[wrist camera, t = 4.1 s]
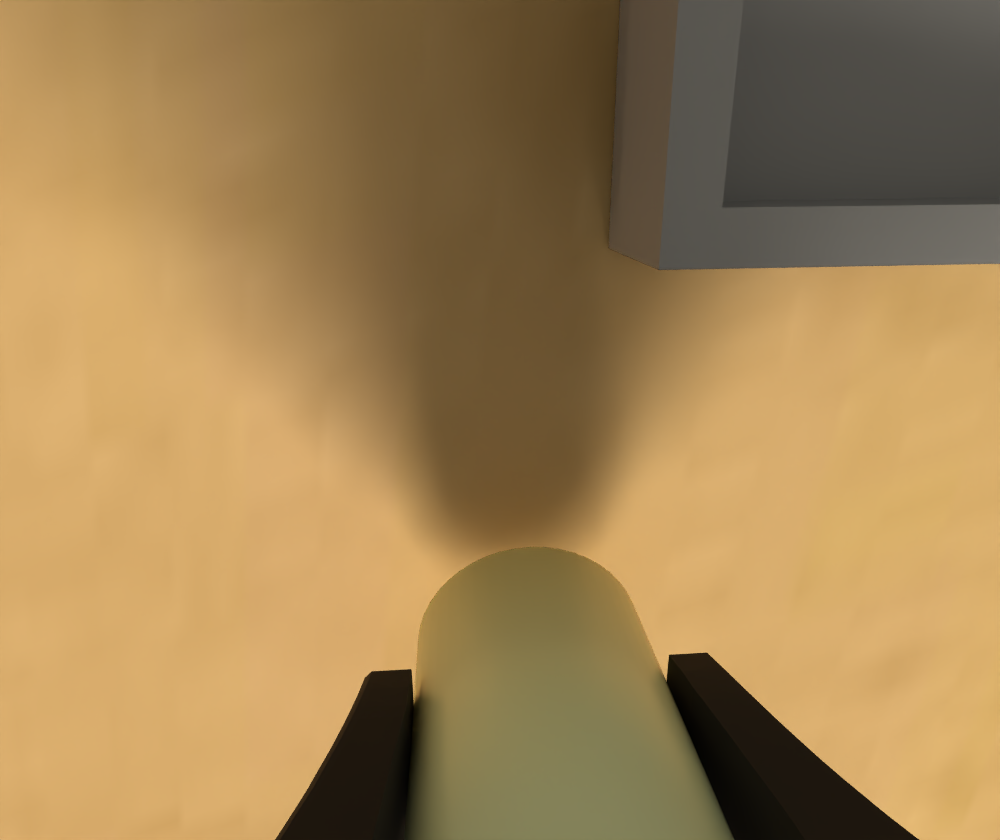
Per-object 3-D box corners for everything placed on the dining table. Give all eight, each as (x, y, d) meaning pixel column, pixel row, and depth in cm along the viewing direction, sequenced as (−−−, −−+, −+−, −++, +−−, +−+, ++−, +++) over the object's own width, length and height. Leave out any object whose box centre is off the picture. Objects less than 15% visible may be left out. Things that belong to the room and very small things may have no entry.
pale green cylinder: (645, 542, 11) (912, 1037, 5) (631, 723, 13) (823, 1302, 6) (412, 552, 11) (356, 1092, 5) (423, 736, 12) (394, 1354, 6)
